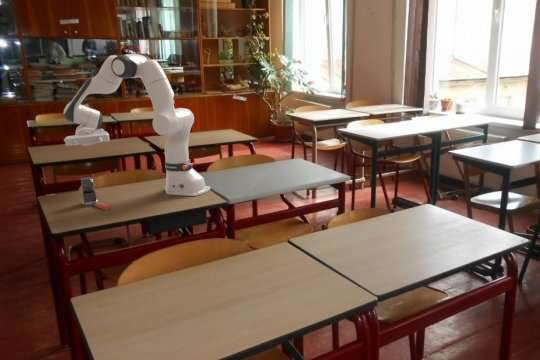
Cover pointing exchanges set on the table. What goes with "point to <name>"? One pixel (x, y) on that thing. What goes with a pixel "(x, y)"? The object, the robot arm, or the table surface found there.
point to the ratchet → (97, 204)
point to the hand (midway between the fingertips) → (88, 141)
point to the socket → (88, 189)
